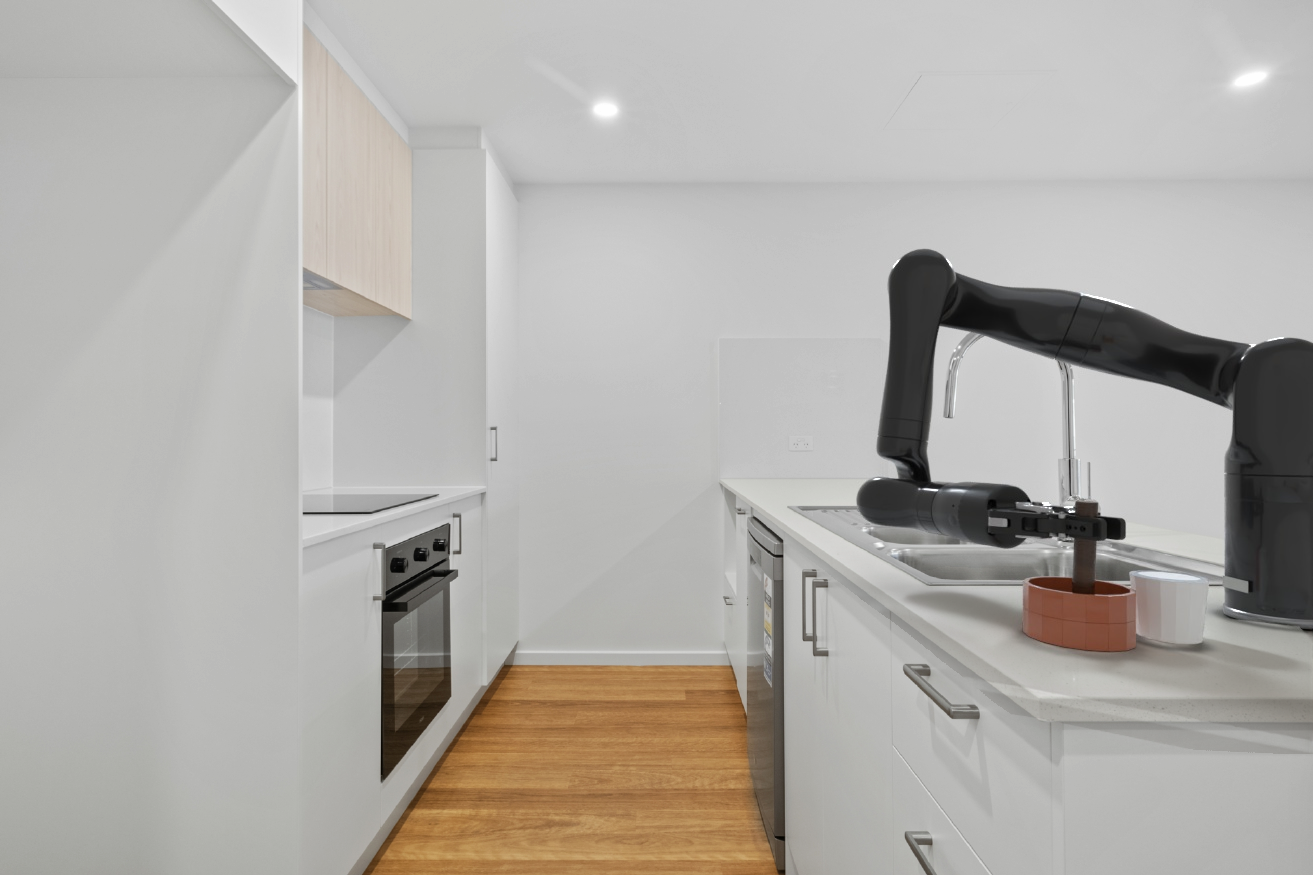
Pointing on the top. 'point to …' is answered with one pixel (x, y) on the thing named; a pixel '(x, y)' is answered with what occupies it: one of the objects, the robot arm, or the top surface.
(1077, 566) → the brown wooden pestle
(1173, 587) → the white cylinder
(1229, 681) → the top surface
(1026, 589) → the bowl
